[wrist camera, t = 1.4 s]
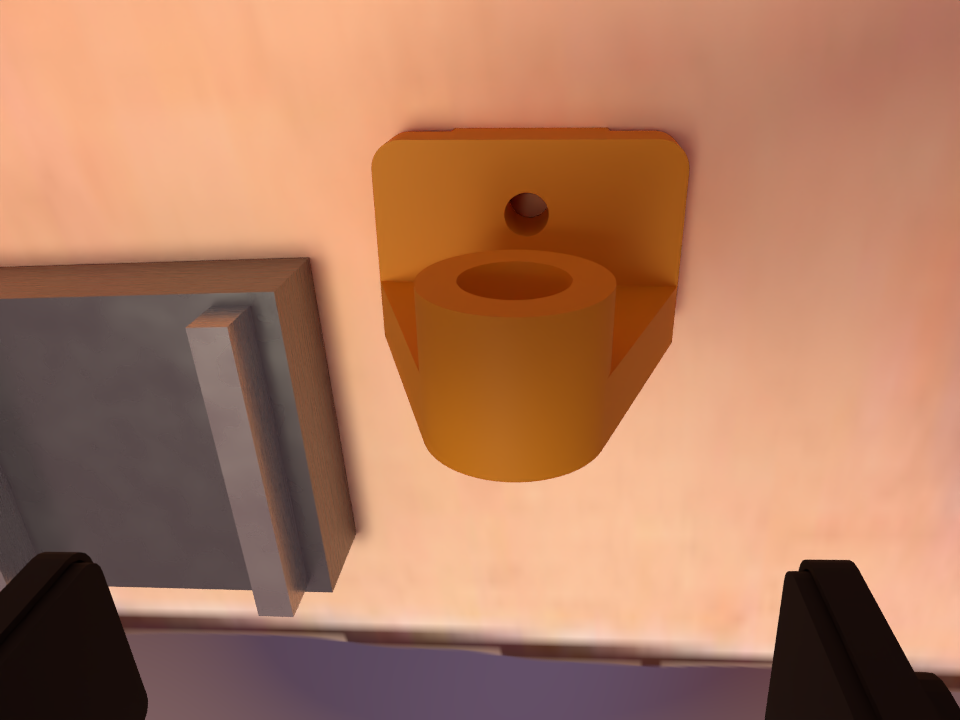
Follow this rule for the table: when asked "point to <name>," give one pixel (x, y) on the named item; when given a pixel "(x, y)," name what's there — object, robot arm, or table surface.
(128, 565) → the block
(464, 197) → the bracket
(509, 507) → the table surface
